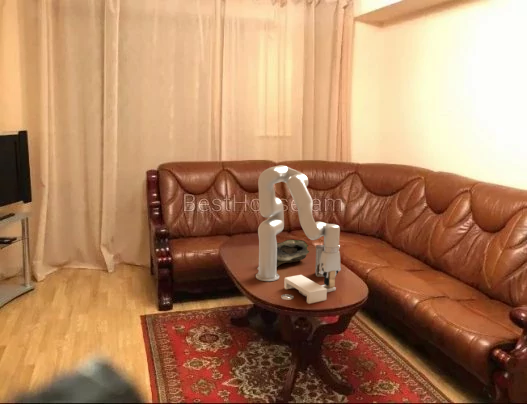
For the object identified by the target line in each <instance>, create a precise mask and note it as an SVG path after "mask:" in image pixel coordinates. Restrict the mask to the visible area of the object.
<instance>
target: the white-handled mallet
mask: <svg viewBox="0 0 527 404" xmlns="http://www.w3.org/2000/svg"><path fill="white" fill-rule="evenodd" d="M328 278H329V285H328V286H327V285H326V284H322V285H321V286H322V287H324V288H326V289H327V293H330V292H335V291H336V289H337V287H335V285H336V277H335V271H330V272H329V276H328ZM298 293H300V295H302V296H304V297H306V298H307V295H306V294H304V293H303V292H301V291H299V290H298Z"/></svg>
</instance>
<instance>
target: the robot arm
mask: <svg viewBox="0 0 527 404" xmlns="http://www.w3.org/2000/svg"><path fill="white" fill-rule="evenodd" d="M257 181H258V182H257V185H258V206H259V207H258V208H259V214H260V216H262V217H263V218H267V219H265V220H263V221H262V222H261V223H260V224H259V226H258V227H257V228H258V229H257V233H258V234H257V235H258V236H257V237H258V267H257V268H256V269H257V270H258V272H257V273H256V274H255V278H256V279H257V280H259V281H264V282H274V281H277V280H279V279H280V274H278V272H277V243H278V242H277V241H278V240H277V235H279V234H280V233H282V232H283V230H284V227H285V217H284V216H285V215H284V214H285V211H284V210H285V209H284V205H283V204H284V203H283V201H282V200H281V199H280V198H279V197H277V196H276V191H275V190H276V189H275V186H274V185H275V184H277V183H281V182H282V183H285V184H286V186H287V189H288V190H289V193H290V195H291V197H292V199H293V202H294V203H295V206H296V208H297V215H298V219H299V224H300V226H301V228H302V230H303V233H304V234H305V236H306V238H308V239H310V240H311V241H317V240H318V239H320V238H321V237H323V245H324V251H322V254H321V258H320V267H319V269H320V271H319V273H320V274H322V275H323V276H324V277H323V283H324V284H323V285H325V284H326V285H327V286H328V285H329V278H328V276H329V272H330V271H335V278H336V277H337V274H338V273H340V272H341V270H342V267H341V253H340V248H341V245H340V233H341V227H340V225H338V224H335V223H326V222H323V221H315V218H314V216H313V205H314V199H313V198H312V196H311V194H310V192H309V190H308V188H307V187H308V186H309V179H308V177H307V175H305V174H304V173H303V172H301V171H298V170H296V169H293V168H291V167H289V166H287V165H282V164H281V165H276V166H272V167H268V168H267V169H265V170H264V171H262V172H261V173H260V175H259V176H258V180H257ZM323 270H324V272H323Z"/></svg>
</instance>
